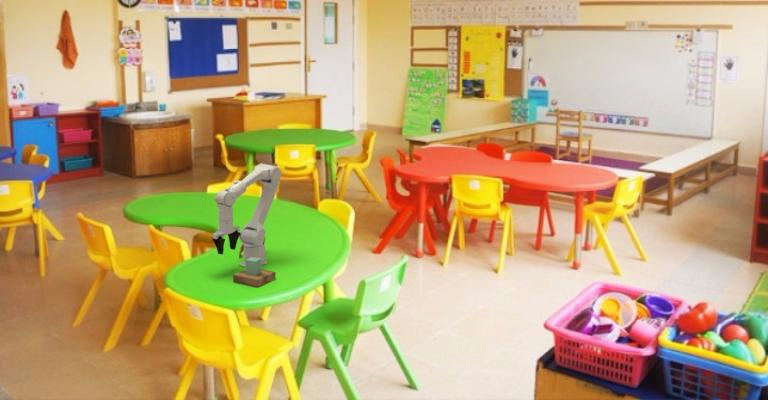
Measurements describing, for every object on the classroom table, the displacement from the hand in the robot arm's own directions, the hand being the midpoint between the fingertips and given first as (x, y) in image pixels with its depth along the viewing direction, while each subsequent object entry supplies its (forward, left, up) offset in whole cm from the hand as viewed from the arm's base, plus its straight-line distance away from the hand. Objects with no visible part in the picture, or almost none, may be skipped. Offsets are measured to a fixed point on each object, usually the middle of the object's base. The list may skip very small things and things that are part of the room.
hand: (226, 251), depth 326 cm
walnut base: (+1, +15, -9) cm, 18 cm away
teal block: (+1, +15, -6) cm, 16 cm away
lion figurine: (-25, -7, -10) cm, 28 cm away
